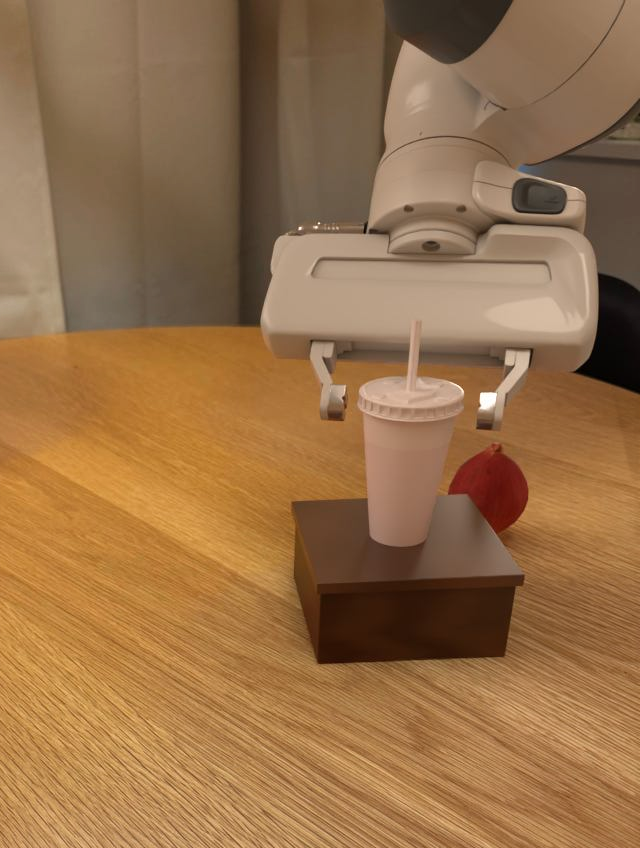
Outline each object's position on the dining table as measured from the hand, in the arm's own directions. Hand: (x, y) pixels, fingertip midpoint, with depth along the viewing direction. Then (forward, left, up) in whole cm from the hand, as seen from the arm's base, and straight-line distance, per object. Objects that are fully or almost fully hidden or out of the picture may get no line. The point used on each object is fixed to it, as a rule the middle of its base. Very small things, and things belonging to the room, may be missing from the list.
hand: (408, 421), depth 62 cm
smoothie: (0, -1, -8) cm, 8 cm away
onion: (-10, -12, -14) cm, 21 cm away
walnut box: (0, -1, -14) cm, 14 cm away
